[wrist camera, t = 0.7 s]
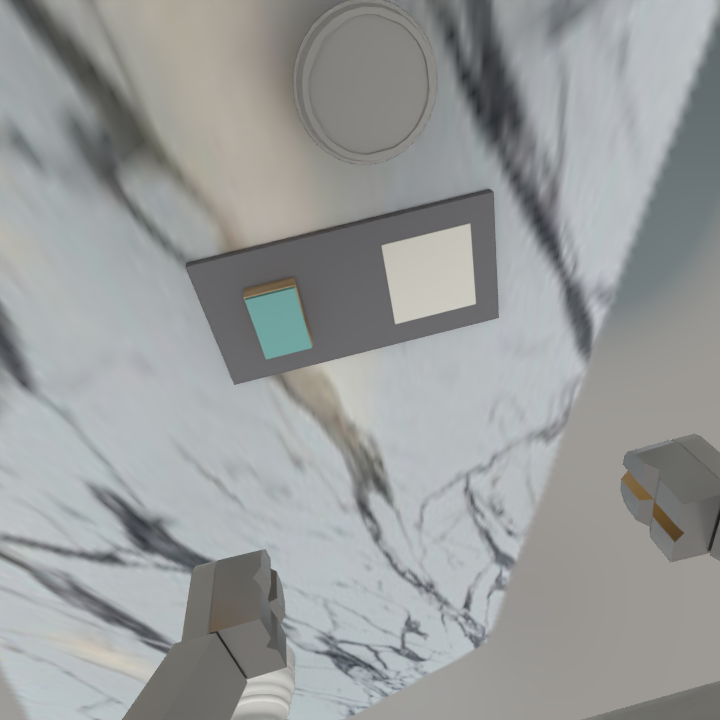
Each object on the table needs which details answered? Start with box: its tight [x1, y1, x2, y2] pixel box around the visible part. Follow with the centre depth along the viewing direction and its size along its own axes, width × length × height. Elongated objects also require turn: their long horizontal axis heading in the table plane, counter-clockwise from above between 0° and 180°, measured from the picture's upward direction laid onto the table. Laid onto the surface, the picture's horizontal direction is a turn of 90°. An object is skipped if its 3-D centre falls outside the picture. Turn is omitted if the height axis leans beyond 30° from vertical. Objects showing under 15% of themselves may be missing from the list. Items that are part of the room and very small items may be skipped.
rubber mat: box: [186, 189, 499, 385], centre depth 51 cm, size 14×30×1 cm, turn 101°
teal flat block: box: [244, 277, 313, 359], centre depth 50 cm, size 7×5×2 cm
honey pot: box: [231, 644, 295, 720], centre depth 78 cm, size 13×13×18 cm
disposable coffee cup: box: [293, 0, 437, 165], centre depth 37 cm, size 10×10×12 cm
